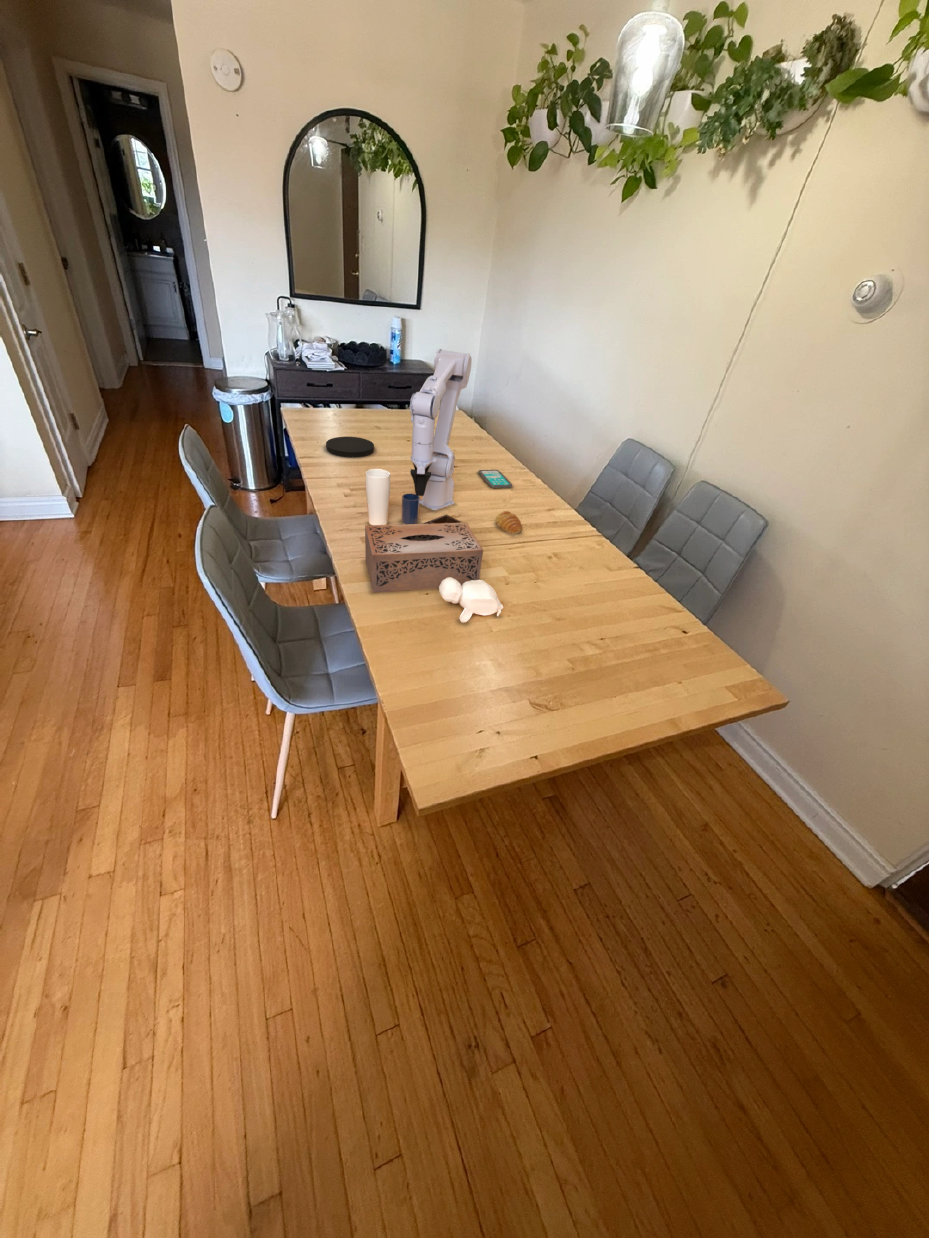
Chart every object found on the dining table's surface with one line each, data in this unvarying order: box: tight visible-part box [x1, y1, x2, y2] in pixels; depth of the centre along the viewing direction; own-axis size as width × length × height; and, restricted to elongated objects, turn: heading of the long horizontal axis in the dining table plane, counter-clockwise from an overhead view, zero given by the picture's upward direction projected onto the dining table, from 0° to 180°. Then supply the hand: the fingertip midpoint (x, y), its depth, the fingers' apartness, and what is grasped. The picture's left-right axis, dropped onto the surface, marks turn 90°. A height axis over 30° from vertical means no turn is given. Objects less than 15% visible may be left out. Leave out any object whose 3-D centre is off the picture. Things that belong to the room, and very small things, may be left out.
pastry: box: [495, 510, 523, 535], centre depth 152 cm, size 9×7×4 cm
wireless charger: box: [325, 436, 375, 459], centre depth 193 cm, size 18×18×2 cm
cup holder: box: [421, 514, 464, 524], centre depth 144 cm, size 8×15×2 cm, turn 138°
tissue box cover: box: [364, 522, 484, 594], centre depth 124 cm, size 26×14×10 cm, turn 105°
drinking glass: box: [364, 468, 391, 525], centre depth 142 cm, size 7×7×15 cm
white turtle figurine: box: [438, 577, 504, 624], centre depth 114 cm, size 9×8×15 cm
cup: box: [400, 492, 421, 524], centre depth 147 cm, size 5×5×8 cm
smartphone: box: [478, 469, 513, 489], centre depth 183 cm, size 9×1×15 cm
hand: (420, 490), depth 143 cm, fingers open, 7 cm apart
